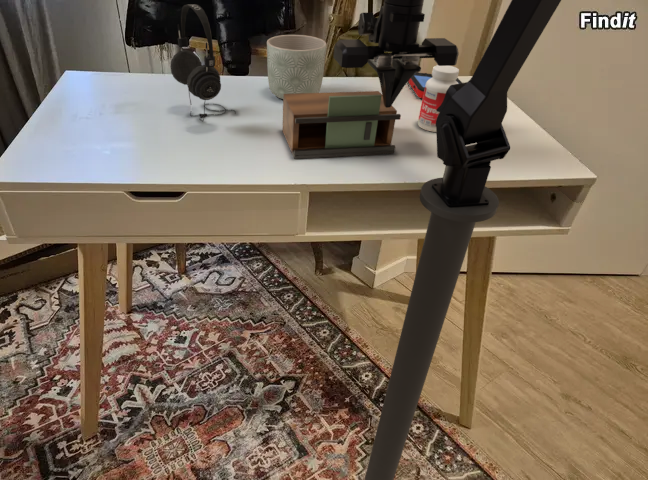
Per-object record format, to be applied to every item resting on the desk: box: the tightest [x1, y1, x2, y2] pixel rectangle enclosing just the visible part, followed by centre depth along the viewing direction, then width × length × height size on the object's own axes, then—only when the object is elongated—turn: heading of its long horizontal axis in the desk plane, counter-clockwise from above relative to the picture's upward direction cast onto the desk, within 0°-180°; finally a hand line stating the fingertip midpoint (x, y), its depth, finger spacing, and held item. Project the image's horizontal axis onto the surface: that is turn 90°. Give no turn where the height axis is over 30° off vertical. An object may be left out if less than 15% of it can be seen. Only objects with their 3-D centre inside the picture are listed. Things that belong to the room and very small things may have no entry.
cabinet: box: [281, 90, 402, 160], centre depth 89 cm, size 12×18×7 cm, turn 100°
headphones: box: [170, 3, 237, 122], centre depth 92 cm, size 15×11×20 cm
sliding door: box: [325, 95, 382, 148], centre depth 84 cm, size 1×9×9 cm, turn 100°
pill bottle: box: [417, 64, 460, 133], centre depth 95 cm, size 6×6×11 cm
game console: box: [407, 72, 463, 100], centre depth 114 cm, size 14×13×2 cm
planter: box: [266, 34, 327, 100], centre depth 107 cm, size 12×12×11 cm
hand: (387, 106), depth 84 cm, fingers closed
